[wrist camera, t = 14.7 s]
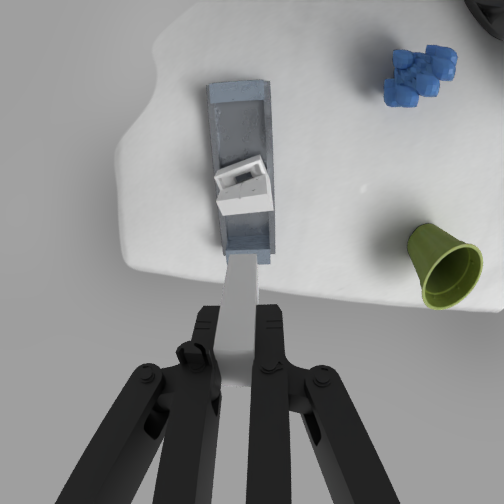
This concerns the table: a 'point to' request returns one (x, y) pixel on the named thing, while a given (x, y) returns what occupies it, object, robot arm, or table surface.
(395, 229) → the table surface
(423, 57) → the grapes
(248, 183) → the white angled block
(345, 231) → the table surface
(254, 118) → the rail
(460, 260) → the plant pot
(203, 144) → the table surface
